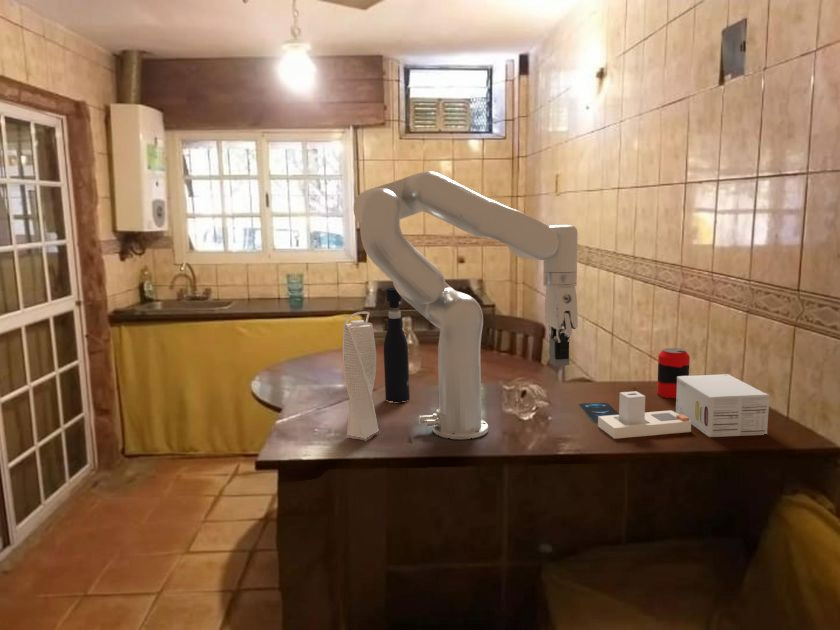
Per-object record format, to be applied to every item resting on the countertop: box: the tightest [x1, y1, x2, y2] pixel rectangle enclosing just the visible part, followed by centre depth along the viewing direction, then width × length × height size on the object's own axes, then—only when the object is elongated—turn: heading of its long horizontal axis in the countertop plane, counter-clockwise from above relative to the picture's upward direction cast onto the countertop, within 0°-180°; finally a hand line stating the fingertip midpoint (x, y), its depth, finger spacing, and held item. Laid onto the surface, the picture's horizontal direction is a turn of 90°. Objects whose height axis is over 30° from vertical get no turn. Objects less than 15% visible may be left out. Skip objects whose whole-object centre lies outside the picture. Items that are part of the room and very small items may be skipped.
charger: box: [618, 390, 646, 425], centre depth 142 cm, size 4×4×8 cm
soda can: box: [656, 347, 691, 399], centre depth 167 cm, size 8×8×12 cm
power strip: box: [597, 410, 692, 440], centre depth 143 cm, size 18×8×3 cm, turn 99°
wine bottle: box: [383, 287, 411, 402], centre depth 168 cm, size 6×6×30 cm
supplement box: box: [675, 373, 771, 438], centre depth 145 cm, size 17×13×9 cm
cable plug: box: [548, 336, 570, 367], centre depth 150 cm, size 4×4×7 cm
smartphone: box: [578, 402, 619, 424], centre depth 155 cm, size 8×1×15 cm
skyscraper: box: [341, 311, 380, 439], centre depth 142 cm, size 8×8×28 cm
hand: (559, 356), depth 150 cm, fingers closed on cable plug, 3 cm apart
